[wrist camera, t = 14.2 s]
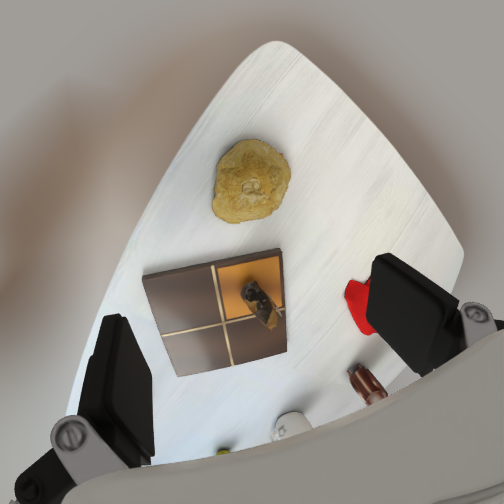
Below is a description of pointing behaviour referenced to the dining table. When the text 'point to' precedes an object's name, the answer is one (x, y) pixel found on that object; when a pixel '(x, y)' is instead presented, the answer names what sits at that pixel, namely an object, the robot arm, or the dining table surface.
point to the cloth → (359, 304)
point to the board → (217, 312)
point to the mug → (291, 425)
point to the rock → (260, 304)
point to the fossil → (250, 182)
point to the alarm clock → (367, 386)
